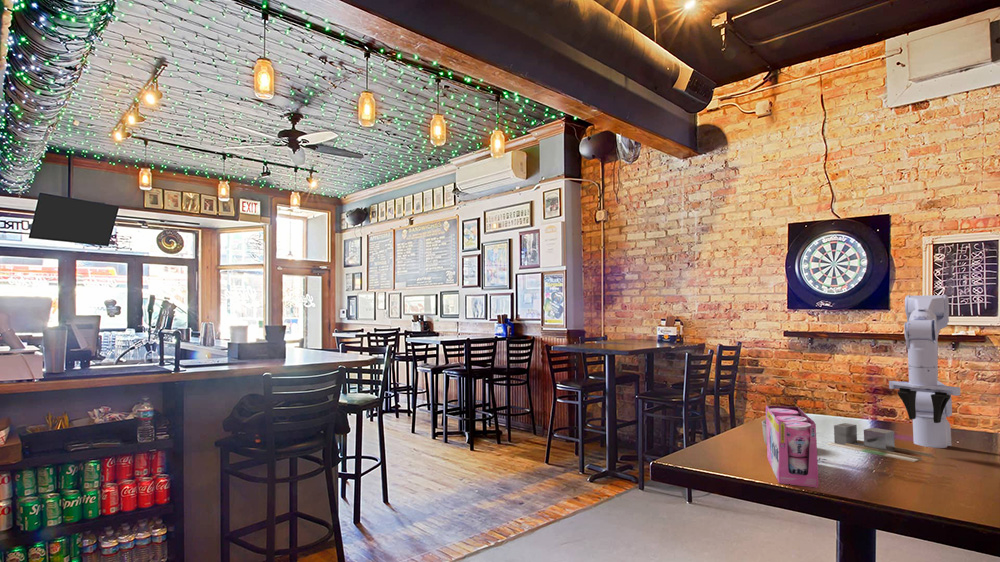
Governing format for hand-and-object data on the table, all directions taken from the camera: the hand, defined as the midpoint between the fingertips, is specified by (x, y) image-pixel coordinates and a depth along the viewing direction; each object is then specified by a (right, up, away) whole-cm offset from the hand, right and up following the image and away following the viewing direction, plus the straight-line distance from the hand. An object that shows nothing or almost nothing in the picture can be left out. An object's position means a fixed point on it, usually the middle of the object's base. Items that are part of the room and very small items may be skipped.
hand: (924, 420), depth 136 cm
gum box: (-39, -10, -10) cm, 42 cm away
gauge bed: (-8, -10, +5) cm, 14 cm away
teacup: (-31, -11, +9) cm, 34 cm away
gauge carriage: (-9, -9, +4) cm, 14 cm away
